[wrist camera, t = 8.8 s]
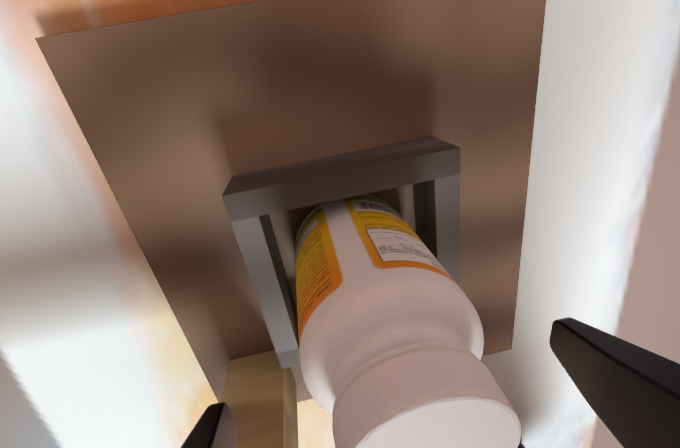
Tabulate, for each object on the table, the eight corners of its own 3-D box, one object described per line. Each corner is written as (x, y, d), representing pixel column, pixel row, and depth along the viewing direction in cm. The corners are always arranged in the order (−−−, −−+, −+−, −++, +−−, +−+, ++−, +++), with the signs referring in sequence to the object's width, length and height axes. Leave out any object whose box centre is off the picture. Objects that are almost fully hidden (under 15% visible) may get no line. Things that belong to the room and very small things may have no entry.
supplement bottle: (319, 304, 17) (356, 557, 8) (274, 217, 14) (256, 441, 6) (416, 266, 17) (561, 478, 8) (387, 171, 14) (548, 326, 5)
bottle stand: (505, 341, 21) (592, 447, 15) (229, 410, 20) (204, 554, 14) (538, -42, 12) (778, -154, 6) (47, 40, 11) (-233, -2, 5)
